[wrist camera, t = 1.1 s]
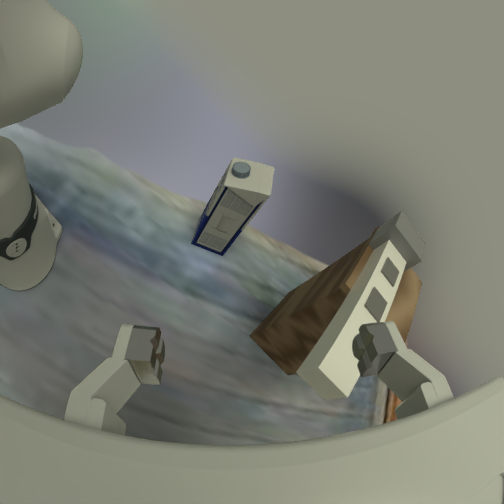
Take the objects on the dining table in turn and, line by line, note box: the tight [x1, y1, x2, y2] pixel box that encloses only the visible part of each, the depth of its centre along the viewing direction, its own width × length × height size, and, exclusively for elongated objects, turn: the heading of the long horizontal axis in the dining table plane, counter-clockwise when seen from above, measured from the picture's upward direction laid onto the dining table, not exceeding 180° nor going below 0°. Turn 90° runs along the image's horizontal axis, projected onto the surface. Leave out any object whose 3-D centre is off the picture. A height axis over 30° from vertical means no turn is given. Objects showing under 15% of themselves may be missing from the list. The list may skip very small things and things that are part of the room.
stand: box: [250, 227, 422, 375], centre depth 43 cm, size 12×15×26 cm
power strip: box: [296, 211, 425, 400], centre depth 27 cm, size 6×26×5 cm, turn 138°
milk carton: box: [191, 158, 275, 256], centre depth 48 cm, size 7×7×20 cm
